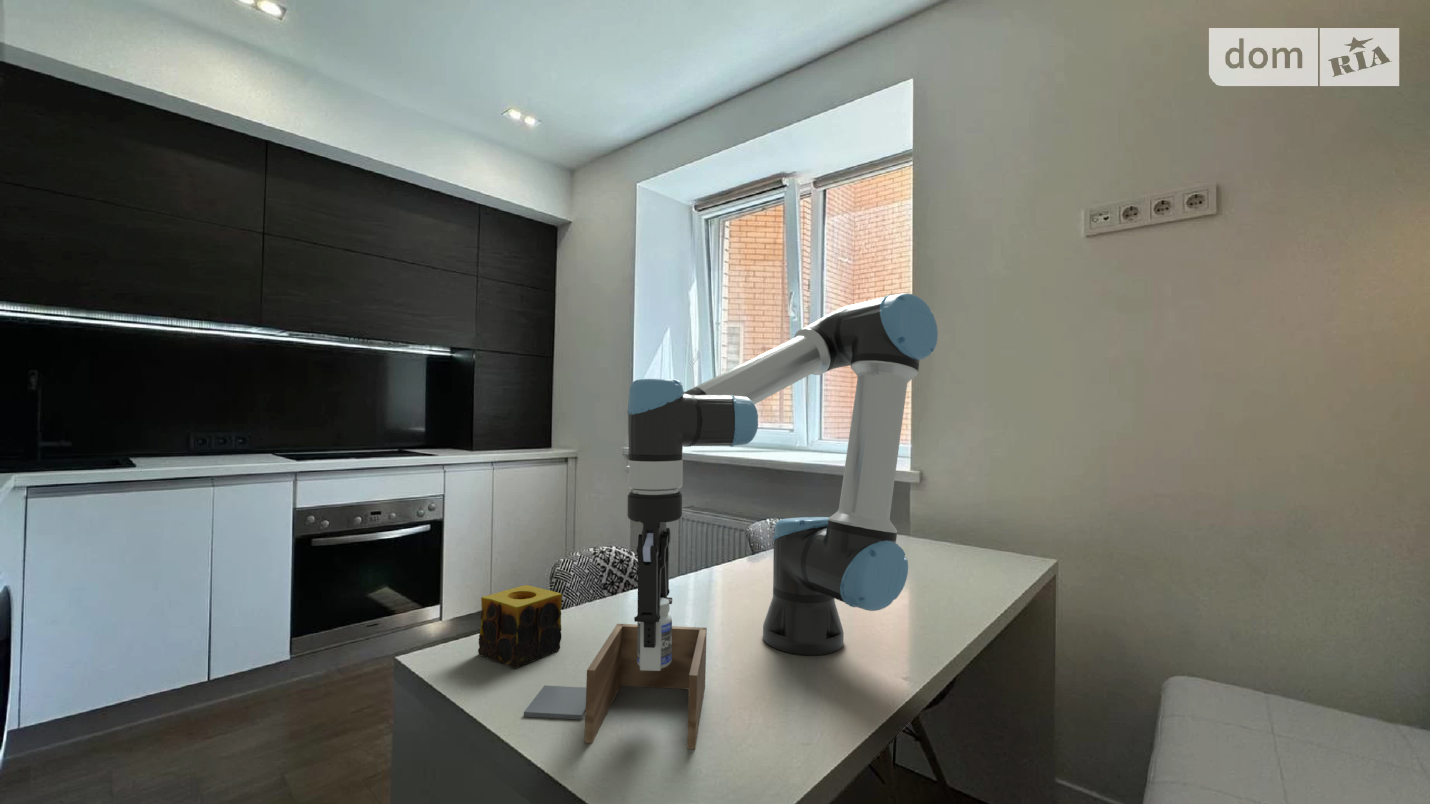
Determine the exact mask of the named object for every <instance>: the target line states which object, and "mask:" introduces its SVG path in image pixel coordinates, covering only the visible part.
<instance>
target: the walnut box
mask: <svg viewBox="0 0 1430 804" xmlns="http://www.w3.org/2000/svg"><path fill="white" fill-rule="evenodd" d="M637 625H638V624H636V623H635V624H627V623H616V624H615V626H614V628H613V629H612V631H611V633H610V634H609V636H608V637H607V638H606V640H605V642H604V643H603V645H602V646H601V647H600V649H599V651H598V652H597V654H596V655H595V657H594V658H593V660H592V662H590V665H589V666H588V668H587V669H586V685H585V686H586V712H585V714H584V741H583V742H584V744H593V743H594V741H595V738H596V736H597V734H598V733H599V730H600V728H601V726H602V724H603V722H604V720H605V718H606V715H607V714H608V712H609V710H610V709H611V706H612V703H613V702H614V700H615V697H616V695H617V694H618V691H619V689H620V687H621V686H623V687H640V688H641V687H642V688H657V689H659V688H660V689H676V690H677V689H678V690H679V689H682V690H688V701H687V703H688V705H687V706H688V707H687V708H688V709H687V711H688V712H687V714H688V715H687V741H686V742H687V746H686V749H688V750H689V749H690V750H696V745H697V741H698V736H699V735H698V734H699V726H700V720H701V715H702V708H703V703H704V696H705V691H706V690H705V689H706V673H707V672H706V669H707V667H706V666H707V665H706V664H707V634H708V633H707V630H708V628H707V627H702V626H701V627H700V626H699V627H698V626H697V627H696V626H679V625H678V626H676V625H672V661H671V663H670V664H669V665H668V666H667V667H664V668H661V670H660V671H649V670H640V666H639V665H638V662H637V633H638V630H637V628H638V626H637Z"/></svg>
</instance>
